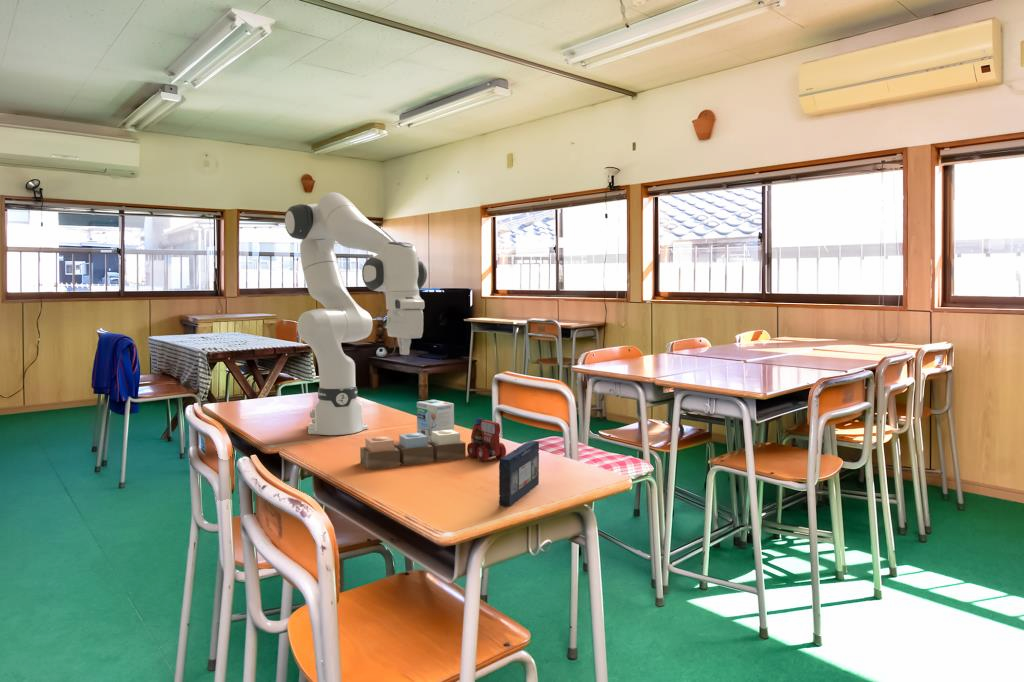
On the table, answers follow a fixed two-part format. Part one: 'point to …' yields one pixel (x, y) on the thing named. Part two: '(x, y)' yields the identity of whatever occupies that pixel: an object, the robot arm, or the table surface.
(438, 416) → the light bulb box
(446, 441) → the cream block
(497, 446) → the toy fire truck
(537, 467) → the vhs cassette tape
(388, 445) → the terracotta block
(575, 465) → the table surface
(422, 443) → the slate block
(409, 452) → the walnut bases
